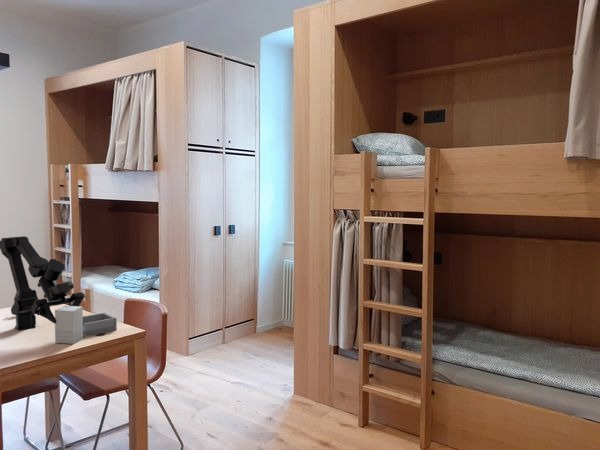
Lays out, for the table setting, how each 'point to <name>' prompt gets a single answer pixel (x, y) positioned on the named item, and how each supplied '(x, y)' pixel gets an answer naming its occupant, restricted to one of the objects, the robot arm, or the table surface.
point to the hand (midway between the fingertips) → (67, 320)
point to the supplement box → (69, 324)
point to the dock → (98, 324)
